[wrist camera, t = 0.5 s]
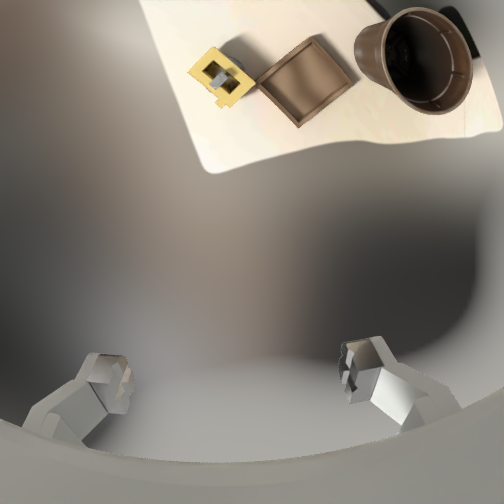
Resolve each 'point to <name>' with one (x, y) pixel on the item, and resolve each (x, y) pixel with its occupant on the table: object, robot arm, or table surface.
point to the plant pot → (418, 59)
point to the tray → (304, 81)
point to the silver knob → (223, 76)
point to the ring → (221, 92)
